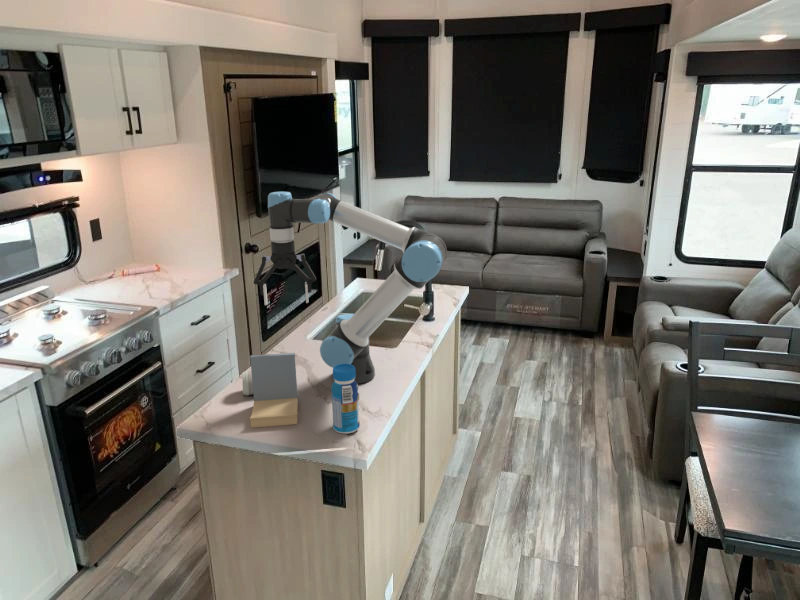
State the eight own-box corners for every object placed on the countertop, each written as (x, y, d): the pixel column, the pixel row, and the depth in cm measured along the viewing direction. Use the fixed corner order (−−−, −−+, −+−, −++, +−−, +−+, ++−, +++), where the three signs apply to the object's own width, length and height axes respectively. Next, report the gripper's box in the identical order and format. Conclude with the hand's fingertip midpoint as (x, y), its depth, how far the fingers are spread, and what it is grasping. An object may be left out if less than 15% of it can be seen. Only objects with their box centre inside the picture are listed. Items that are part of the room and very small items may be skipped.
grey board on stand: (298, 402, 197) (294, 352, 191) (297, 424, 183) (293, 371, 177) (255, 405, 195) (250, 355, 189) (250, 428, 181) (245, 374, 175)
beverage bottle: (327, 431, 179) (324, 370, 173) (341, 418, 186) (338, 360, 180) (352, 437, 175) (349, 375, 169) (364, 424, 183) (363, 364, 177)
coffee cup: (278, 397, 206) (243, 399, 203) (277, 374, 210) (242, 376, 207) (279, 389, 199) (242, 391, 196) (278, 365, 202) (242, 367, 199)
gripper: (321, 236, 196) (324, 297, 202) (244, 239, 193) (249, 301, 199) (321, 241, 189) (324, 304, 195) (241, 244, 186) (247, 308, 192)
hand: (286, 302), depth 197 cm, fingers open, 13 cm apart
